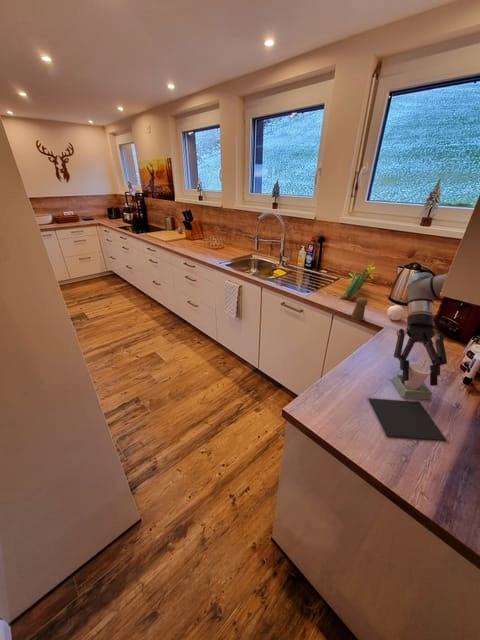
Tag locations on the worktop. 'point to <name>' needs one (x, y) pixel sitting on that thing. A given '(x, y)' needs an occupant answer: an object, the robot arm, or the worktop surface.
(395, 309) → the geometric ball
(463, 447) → the worktop surface
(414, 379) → the smoothie
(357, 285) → the daffodil flowers
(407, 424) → the mat
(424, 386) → the holder
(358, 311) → the brown tapered tower
